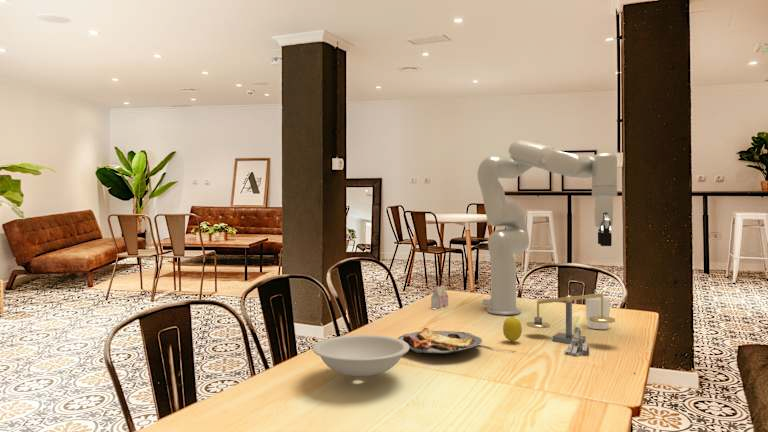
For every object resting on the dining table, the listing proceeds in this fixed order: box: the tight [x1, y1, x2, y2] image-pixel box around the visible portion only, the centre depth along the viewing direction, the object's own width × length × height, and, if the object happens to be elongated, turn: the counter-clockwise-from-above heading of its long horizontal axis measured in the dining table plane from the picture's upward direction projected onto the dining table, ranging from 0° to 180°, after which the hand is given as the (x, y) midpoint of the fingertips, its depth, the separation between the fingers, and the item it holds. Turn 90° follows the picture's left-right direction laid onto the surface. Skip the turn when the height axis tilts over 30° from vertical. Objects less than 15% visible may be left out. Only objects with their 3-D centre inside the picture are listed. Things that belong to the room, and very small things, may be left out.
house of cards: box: [563, 326, 590, 358], centre depth 146 cm, size 9×9×8 cm
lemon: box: [502, 315, 523, 343], centre depth 161 cm, size 6×6×8 cm
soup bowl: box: [312, 334, 410, 377], centre depth 132 cm, size 24×24×7 cm
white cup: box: [584, 296, 611, 330], centre depth 181 cm, size 8×8×10 cm
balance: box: [526, 292, 616, 345], centre depth 162 cm, size 27×7×16 cm, turn 51°
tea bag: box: [430, 285, 449, 310], centre depth 210 cm, size 4×7×10 cm, turn 143°
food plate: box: [397, 327, 483, 355], centre depth 157 cm, size 25×23×4 cm
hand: (604, 245), depth 171 cm, fingers open, 9 cm apart
